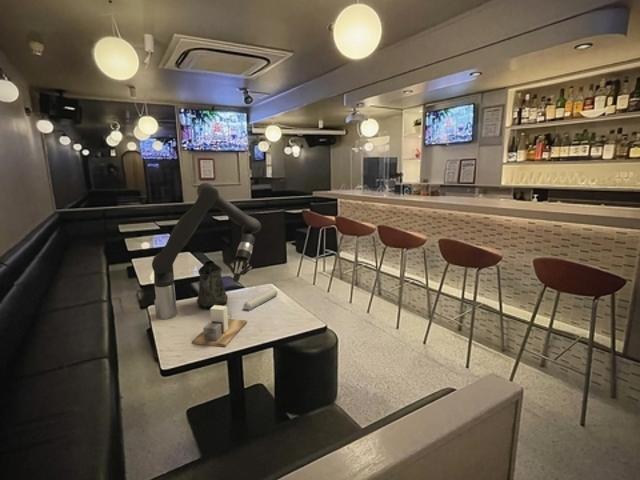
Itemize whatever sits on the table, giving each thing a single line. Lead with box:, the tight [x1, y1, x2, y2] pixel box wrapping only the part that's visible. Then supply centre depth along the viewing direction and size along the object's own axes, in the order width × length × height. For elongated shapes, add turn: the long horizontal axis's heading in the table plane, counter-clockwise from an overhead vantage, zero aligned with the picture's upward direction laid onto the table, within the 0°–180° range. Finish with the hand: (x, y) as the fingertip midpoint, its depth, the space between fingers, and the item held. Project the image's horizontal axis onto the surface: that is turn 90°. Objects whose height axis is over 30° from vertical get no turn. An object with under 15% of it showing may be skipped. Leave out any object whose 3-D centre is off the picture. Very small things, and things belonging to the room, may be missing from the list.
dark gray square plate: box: [210, 321, 223, 333], centre depth 163 cm, size 5×1×5 cm, turn 79°
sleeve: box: [209, 305, 229, 332], centre depth 165 cm, size 6×4×11 cm, turn 79°
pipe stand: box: [191, 313, 248, 348], centre depth 166 cm, size 16×24×7 cm, turn 169°
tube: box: [243, 287, 278, 311], centre depth 202 cm, size 5×5×25 cm
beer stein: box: [196, 260, 228, 311], centre depth 196 cm, size 16×19×25 cm
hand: (235, 281), depth 181 cm, fingers closed
